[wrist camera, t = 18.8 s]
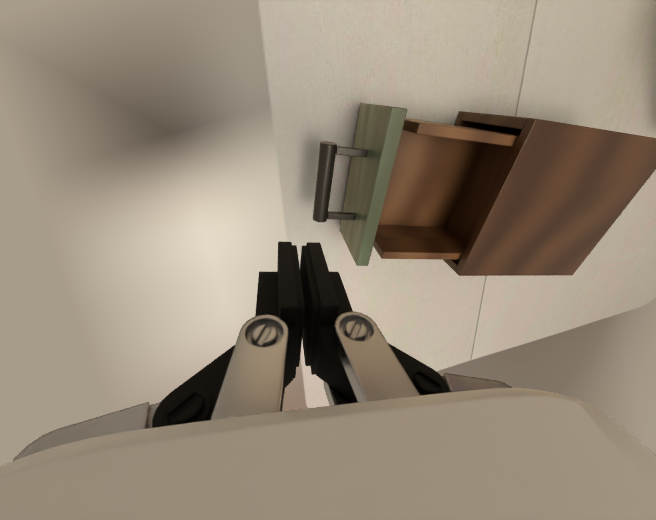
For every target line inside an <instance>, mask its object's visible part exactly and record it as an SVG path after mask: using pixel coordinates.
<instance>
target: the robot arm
mask: <svg viewBox="0 0 656 520" xmlns="http://www.w3.org/2000/svg"><path fill="white" fill-rule="evenodd" d="M302 339H303V348H304V357H305V364H306V366H311V373H312V374H316V375H317V376H318V377H319V378H321V379H322V380H323V381H324V389H325V392H326V395H327V398H328V401H329V404H330V406H325V407H317V408H308V409H300V410H291V411H283V402H284V394H285V388H286V386H287V385H288V384H289V383H290V382H291V381H292V380H293V378H295V374H296V367H298V366H299V361H300V352H301V342H302ZM0 520H656V454H655V453H654V452H652V451H651V450H650V449H649V448H648V447H647V446H646V445H645V444H643V443H642V442H641V441H640V440H639V439H638V438H637V437H635V436H634V435H633V434H632V433H631V432H629V431H628V430H627V429H626V428H625V427H624V426H622V425H621V424H620V423H619V422H617V421H616V420H615V419H613V418H612V417H611V416H609V415H608V414H606V413H604V412H603V411H601V410H599V409H598V408H596V407H594V406H591V405H589V404H587V403H584V402H582V401H579V400H577V399H574V398H571V397H567V396H563V395H560V394H556V393H552V392H547V391H541V390H535V389H526V388H512V387H511V386H509V385H507V384H505V383H503V382H500V381H496V380H489V379H482V378H475V377H467V376H461V375H454V374H447V373H444V375H443V376H440V374H439V373H437V372H436V371H435V370H433V369H432V368H430V367H428V366H426V365H425V364H423V363H421V362H420V361H418V360H416V359H414V358H413V357H411V356H409V355H408V354H406V353H404V352H402V351H401V350H399V349H397V348H395V347H394V346H392V345H390V344H389V343H387V341H386V339H385V338H384V336H383V335H382V333H381V331H380V330H379V328H378V327H377V325H376V323H375V322H374V321H373V320H372V319H371V318H369V317H368V316H367V315H364V314H362V313H358V312H353V311H352V308H351V305H350V302H349V300H348V297H347V294H346V291H345V289H344V286H343V283H342V280H341V277H340V275H339V273H338V272H329V270H328V267H327V264H326V261H325V257H324V254H323V251H322V248H321V244H320V243H307V245H306V246H302V252H301V264H300V268H299V261H298V254H297V247H296V246H295V245H292V244H291V242H278V272H259V282H258V293H257V304H256V316H255V317H253V318H251V319H250V320H248V321H247V322H246V323H245V324H244V325H243V326H242V328H241V330H240V333H239V336H238V339H237V342H236V345H234V346H233V347H231V348H230V349H229V350H228V351H226V352H225V353H224V354H222V355H221V356H219V357H218V358H217V359H215V360H214V361H213V362H211V363H210V364H209V365H207V366H206V367H205V368H203V369H202V370H201V371H199V372H198V373H197V374H195V375H194V376H192V377H191V378H190V379H188V380H187V381H186V382H184V383H183V384H182V385H180V386H179V387H178V388H176V389H175V390H174V391H172V392H171V393H170V394H169V395H168V396H167V397H165V398H164V399H163V400H162V401H161V402H160V403H156V404H153V405H150V404H149V402H147V403H143V404H140V405H137V406H133V407H130V408H126V409H123V410H120V411H116V412H113V413H110V414H106V415H103V416H100V417H96V418H93V419H90V420H86V421H83V422H80V423H76V424H73V425H69V426H66V427H63V428H59V429H57V430H54V431H52V432H49V433H47V434H45V435H42V436H41V437H39V438H38V439H37V440H35V441H33V442H32V443H31V444H29V445H28V446H27V447H26V448H25V449H23V450H22V451H21V452H20V453H19V455H17V456H16V457H15V458H14V460H13V461H12V462H10V463H7V464H5V465H2V466H0Z"/></svg>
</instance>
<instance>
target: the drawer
mask: <svg viewBox="0 0 656 520" xmlns="http://www.w3.org/2000/svg"><path fill="white" fill-rule="evenodd" d="M406 113H407V109H404V108H398V107H391V106H382V105H373V104H365V103H361V105H360V111H359V117H358V123H357V129H356V135H355V141H354V147H353V148H350V147H341V146H337V144H335V143H332V142H320V151H319V161H318V171H317V181H316V191H315V201H314V211H313V220H314V221H317V222H325V221H326V220H327V219H341V226H340V232H341V234H342V236H343V238H344V240H345V242H346V244H347V246H348V248H349V250H350V252H351V255H352V257H353V259H354V261H355V263H356V265H357V266H368V264H369V260H370V256H371V252H372V248H373V246H374V248H375V249H376V251H377V252H378V254H379V255H380V257H381V258H382V259H461V257H462V255H463V253H464V251H465V249H466V247H467V245H468V243H469V240H470V238H471V236H472V234H473V232H474V230H475V228H476V226H477V224H478V222H479V219H480V217H481V215H482V213H483V211H484V209H485V207H486V205H487V203H488V201H489V199H490V196H491V194H492V192H493V190H494V188H495V186H496V184H497V182H498V180H499V178H500V175H501V173H502V171H503V169H504V167H505V165H506V163H507V161H508V159H509V157H510V155H511V152H512V150H513V148H514V146H515V144H516V142H517V140H518V138H519V135H514V134H508V133H502V132H496V131H490V130H484V129H477V128H470V127H463V126H456V125H449V124H442V123H435V122H428V121H421V120H414V119H407V118H405V117H406ZM335 154H337V155H347V156H352V159H351V165H350V171H349V177H348V183H347V189H346V196H345V202H344V208H343V212H329V211H328V207H329V199H330V192H331V184H332V177H333V169H334V162H335Z"/></svg>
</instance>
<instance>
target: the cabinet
mask: <svg viewBox="0 0 656 520" xmlns="http://www.w3.org/2000/svg"><path fill="white" fill-rule="evenodd" d="M455 125H456V126H463V127H470V128H477V129H484V130H490V131H496V132H502V133H508V134H514V135H519V138H518V140H517V142H516V144H515V146H514V148H513V150H512V152H511V155H510V157H509V159H508V161H507V163H506V165H505V167H504V169H503V171H502V173H501V175H500V178H499V180H498V182H497V184H496V186H495V188H494V190H493V192H492V194H491V196H490V199H489V201H488V203H487V205H486V207H485V209H484V211H483V213H482V215H481V217H480V219H479V222H478V224H477V226H476V228H475V230H474V232H473V234H472V236H471V238H470V240H469V243H468V245H467V247H466V249H465V251H464V253H463V255H462V257H461V259H443V260H444V261H445V262H446V263H447V264H448V265H449V266H450V267H451V268H452V269H453V270H454V271H455V272H456V273H457V274H458V275H459V276H488V275H573V274H574V272H575V271H576V270H577V269H578V267H579V266H580V265H581V264H582V262H583V261H584V260H585V258H586V257H587V256H588V255H589V253H590V252H591V251H592V250H593V248H594V247H595V246H596V244H597V243H598V242H599V241H600V239H601V238H602V237H603V236H604V234H605V233H606V232H607V230H608V229H609V228H610V227H611V225H612V224H613V223H614V222H615V220H616V219H617V218H618V217H619V215H620V214H621V213H622V211H623V210H624V209H625V208H626V206H627V205H628V204H629V203H630V201H631V200H632V199H633V197H634V196H635V195H636V194H637V192H638V191H639V190H640V189H641V187H642V186H643V185H644V183H645V182H646V181H647V180H648V178H649V177H650V176H651V175H652V173H653V172H654V171H655V169H656V138H651V137H644V136H638V135H632V134H626V133H620V132H614V131H608V130H601V129H595V128H589V127H583V126H577V125H571V124H565V123H558V122H552V121H546V120H540V119H532V118H522V117H512V116H502V115H492V114H481V113H471V112H461V111H460V112H459V114H458V117H457V120H456V123H455Z"/></svg>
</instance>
